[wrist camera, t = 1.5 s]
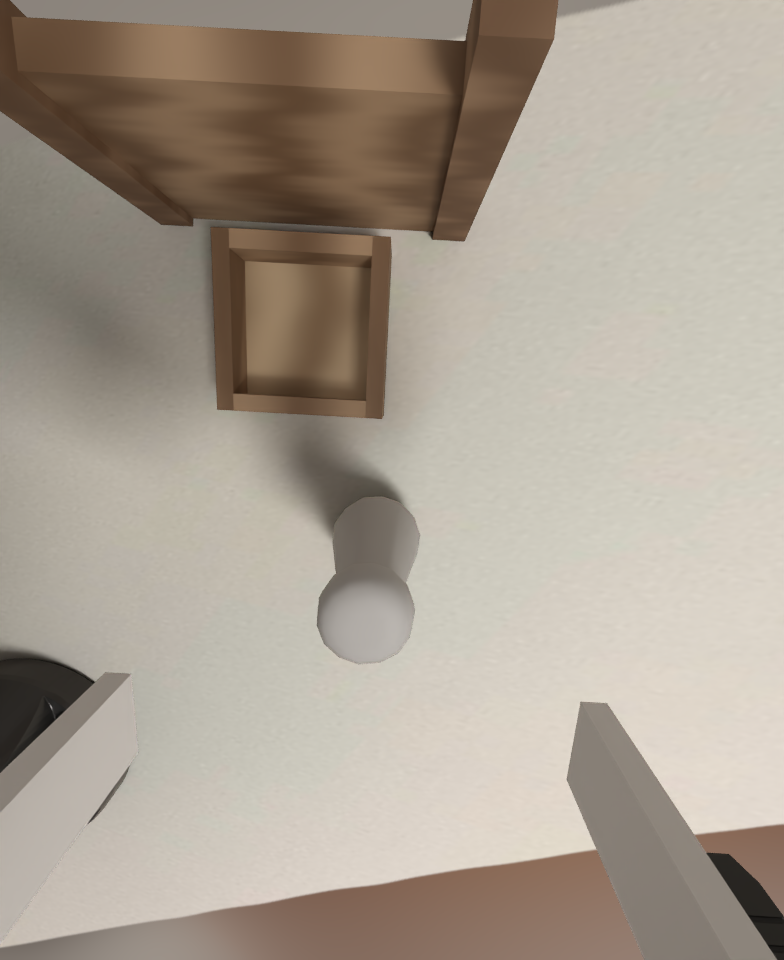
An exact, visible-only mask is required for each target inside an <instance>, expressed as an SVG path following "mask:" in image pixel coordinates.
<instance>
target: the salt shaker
mask: <svg viewBox="0 0 784 960" xmlns="http://www.w3.org/2000/svg"><path fill="white" fill-rule="evenodd" d="M419 539H420V533H419V530H418V527H417V524H416V521H415V518H414V517H413V515H412V514H411V513H410V512H409V511H408V510H407V509H406V508H405V507H404V506H403V505H402V504H401V503H400V502H397V501H395V500H392V499H389V498H386V497H383V496H377V497H363V498H361V499H360V500H358V501H356V502H355V503H353V504H351V505H350V506H348V507H346V508H345V509H344V511H343V512H342V514H341V515H340V516H339V518H338V519H337V521H336V522H335V524H334V534H333V550H334V560H335V569H336V574H335V575H334V576H333V577H332V579H331V580H330V581H329V583H328V584H327V586H326V587H325V588H324V590H323V591H322V593H321V595H320V597H319V605H318V615H317V627H318V629H319V632H320V635H321V637H322V640H323V642H324V644H325V645H326V646H327V647H328V648H329V649H330V650H332V651H333V652H334V653H335V654H336V655H337V656H338V657H340V658H343V659H345V660H348V661H351V662H354V663H357V664H368V663H380V662H382V661H384V660H386V659H388V658H390V657H392V656H394V655H396V654H398V653H399V651H400V650H401V649H402V647H403V646H404V644H405V643H406V642H407V640H408V639H409V638H410V634H411V630H412V624H413V619H414V613H415V608H414V603H413V600H412V597H411V594H410V591H409V588H408V586H407V584H406V581H407V579H408V576H409V574H410V571H411V568H412V566H413V563H414V561H415V558H416V555H417V551H418V545H419Z"/></svg>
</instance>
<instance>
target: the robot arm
mask: <svg viewBox="0 0 784 960" xmlns="http://www.w3.org/2000/svg"><path fill="white" fill-rule="evenodd" d="M138 753H139V750H138V739H137V728H136V717H135V706H134V695H133V684H132V674H124V673H108V672H105V673H104V674H103V675H102V676H101V677H100V678H99V679H98V680H97V681H96V682H95V683H94V684H93V683H92V682H90V681H89V680H87V679H86V678H84V677H83V676H81V675H79V674H77V673H76V672H74V671H71V670H69V669H67V668H65V667H62V666H59V665H56V664H53V663H49V662H45V661H40V660H33V659H10V660H3V661H0V944H1V943H2V941H3V940H4V938H5V937H6V936H7V934H8V933H9V932H10V930H11V929H12V927H13V926H14V925H15V923H16V922H17V920H18V919H19V918H20V916H21V915H22V913H23V912H24V911H25V909H26V908H27V907H28V905H29V904H30V902H31V901H32V900H33V898H34V897H35V895H36V894H37V893H38V891H39V890H40V889H41V887H42V886H43V884H44V883H45V882H46V880H47V879H48V877H49V876H50V875H51V873H52V872H53V871H54V869H55V868H56V866H57V865H58V864H59V862H60V861H61V859H62V858H63V857H64V855H65V854H66V853H67V851H68V850H69V848H70V847H71V846H72V844H73V843H74V841H75V840H76V839H77V837H78V836H79V835H80V833H81V832H82V830H83V829H84V828H85V826H86V825H87V824H89V823H90V822H91V821H92V820H93V819H94V818H95V817H96V816H97V815H98V814H99V813H100V812H101V811H102V810H103V809H104V807H105V806H106V805H107V803H108V802H109V800H110V799H111V798H112V796H113V795H114V793H115V792H116V791H117V789H118V788H119V786H120V785H121V783H122V782H123V780H124V778H125V777H126V774H127V772H128V769H129V765H130V764H131V763H132V761H133V760H134V758H135V757H136V756H137V754H138ZM567 781H568V784H569V786H570V788H571V791H572V793H573V795H574V798H575V800H576V802H577V805H578V807H579V809H580V812H581V814H582V816H583V819H584V821H585V823H586V826H587V828H588V830H589V833H590V835H591V837H592V840H593V842H594V844H595V847H596V849H597V851H598V854H599V856H600V858H601V861H602V863H603V865H604V867H605V870H606V872H607V874H608V877H609V879H610V881H611V884H612V886H613V888H614V891H615V893H616V895H617V898H618V900H619V902H620V905H621V907H622V909H623V912H624V914H625V916H626V919H627V921H628V923H629V926H630V928H631V930H632V933H633V935H634V937H635V940H636V942H637V944H638V947H639V949H640V951H641V954H642V956H643V958H644V960H784V917H783V915H782V913H781V912H780V911H779V909H778V908H777V907H776V905H775V904H774V903H773V901H772V900H771V898H770V897H769V896H768V894H767V893H766V892H765V890H764V889H763V887H762V886H761V885H760V883H759V882H758V881H757V880H756V879H755V878H753V877H752V876H751V875H750V874H749V873H748V872H747V871H746V870H745V869H744V868H743V867H742V866H741V865H740V864H739V863H738V862H736V860H735V859H734V858H732V857H731V856H730V855H729V854H719V853H706V852H705V850H704V849H703V847H702V846H701V844H700V843H699V841H698V840H697V838H696V837H695V835H694V834H693V832H692V831H691V829H690V828H689V826H688V825H687V823H686V822H685V820H684V819H683V817H682V816H681V814H680V813H679V811H678V810H677V808H676V807H675V805H674V804H673V802H672V801H671V799H670V798H669V796H668V795H667V793H666V792H665V790H664V789H663V787H662V786H661V784H660V782H659V781H658V779H657V778H656V776H655V775H654V773H653V772H652V770H651V769H650V767H649V766H648V764H647V763H646V761H645V760H644V758H643V757H642V755H641V754H640V752H639V751H638V749H637V748H636V746H635V745H634V743H633V742H632V740H631V739H630V737H629V736H628V734H627V733H626V731H625V730H624V728H623V727H622V725H621V724H620V722H619V721H618V719H617V718H616V716H615V715H614V713H613V712H612V710H611V709H610V707H609V706H608V704H607V703H593V702H580V708H579V714H578V719H577V725H576V730H575V736H574V741H573V747H572V753H571V758H570V764H569V769H568V775H567Z"/></svg>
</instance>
